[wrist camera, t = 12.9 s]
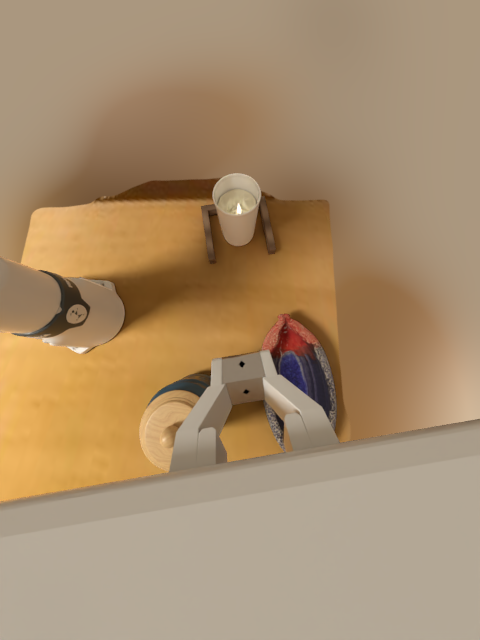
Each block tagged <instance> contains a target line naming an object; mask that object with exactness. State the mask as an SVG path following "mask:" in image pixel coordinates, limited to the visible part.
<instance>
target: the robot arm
mask: <svg viewBox="0 0 480 640" xmlns="http://www.w3.org/2000/svg"><path fill="white" fill-rule="evenodd" d="M124 317H125V310H124V305H123V303H122V301H121V299H120V298H119V296H118V295H117V293H116V290H115V286H114V284H113V283H112V282H110V281H103V280H89V279H85V278H82V277H80V278H64V277H62V276H60V275H57V274H55V273H51V272H47V271H43V270H36V269H33V268H31V267H28V266H25V265H23V264H20V263H17V262H15V261H12V260H10V259H7V258H4V257H2V256H0V332H3V333H12V334H14V335H17V336H24V337H30V338H36V339H43V341H42V342H44V343H50V345H53V346H66V347H68V348H69V349H71V350H73V351H75V352H76V353H79V354H84V353H87V352H88V351H89V350H91V349H92V348H93V347H95V346H97V345H101V344H103V343H106V342H108V341H109V340H111V339H112V338H113V337H114V336H115V335H116V334H117V333H118V332H119V330H120V329H121V327H122V324H123V322H124ZM260 400H265V401H266V402H267V403H268V404H269V405H270V407H271V408H272V409H273V410H274V411H275V412H276V413H277V415H278V416H279V417H280V418H281V419H282V420H283V421H284V446H285V450H286V452H284V453H279V454H273V455H267V456H261V457H255V458H250V459H244V460H238V461H232V462H227V452H226V450H225V448H224V446H223V444H222V442H221V440H220V438H219V435H220V433H221V431H222V429H223V426H224V424H225V422H226V420H227V417H228V415H229V413H230V411H231V408H232V405H237V404H241V403H246V402H253V401H260ZM0 640H480V419H477V420H471V421H465V422H459V423H453V424H447V425H442V426H436V427H430V428H424V429H418V430H412V431H407V432H401V433H395V434H389V435H384V436H378V437H372V438H366V439H361V440H354V441H348V442H343V443H340V442H339V440H338V438H337V436H336V434H335V432H334V430H333V428H332V426H331V424H330V422H329V420H328V418H327V416H326V414H325V412H324V410H323V408H322V407H321V406H320V405H319V404H317V403H316V402H315V401H314V400H312V399H311V398H310V397H309V396H307V395H306V394H305V393H303V392H302V391H301V390H300V389H298V388H297V387H296V386H295V385H293V384H292V383H291V382H289V381H288V380H287V379H286V378H284V377H283V376H282V375H281V374H280V375H277V372H276V369H275V366H274V363H273V360H272V357H271V354H270V351H269V350H263V351H257V352H251V353H246V354H241V355H235V356H228V357H222V358H216V359H212V366H211V386H210V387H207V389H206V390H205V392H204V393H203V394H202V396H201V397H200V399H199V400H198V402H197V403H196V405H195V406H194V407H193V409H192V410H191V412H190V413H189V415H188V416H187V418H186V419H185V420H184V422H183V423H182V425H181V426H180V428H179V429H178V431H177V432H176V437H175V442H174V448H173V453H172V458H171V464H170V469H169V472H168V473H162V474H157V475H151V476H145V477H139V478H133V479H128V480H122V481H116V482H110V483H104V484H99V485H93V486H87V487H81V488H75V489H70V490H64V491H58V492H52V493H46V494H41V495H35V496H29V497H23V498H17V499H12V500H6V501H0Z"/></svg>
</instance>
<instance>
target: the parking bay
mask: <svg viewBox="0 0 480 640" xmlns="http://www.w3.org/2000/svg"><path fill="white" fill-rule="evenodd" d="M259 208H260V213H261V218H262V223H263V228H264V233H265V238H266V243H267V248H268V253H269V254H275V251H276V247H275V243H274V238H273V233H272V228H271V224H270V219H269V214H268V210H267V205H266V200H265V196H262V197H261V199H260V203H259ZM201 209H202V216H203V223H204V230H205V237H206V244H207V251H208V258H209V262H210V264H212V263H216V260H215V253H214V246H213V239H212V233H211V226H210V219H209V216H212V215H217V211H216V207H215V204H212V205H205V206H201Z"/></svg>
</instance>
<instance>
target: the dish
mask: <svg viewBox="0 0 480 640" xmlns="http://www.w3.org/2000/svg"><path fill="white" fill-rule="evenodd" d="M278 318H279V320H278V321H277V322H276V324H275V325H274V326H273V327H272V328H271V329H270V331H269V332H268V334H267V336H266V338H265V340H264V343H263V345H262V349H261V351H263V350H269V351H270V354H271V357H272V360H273V363H274V366H275V369H276V372H277V375H280V374H281V375H282V376H283V377H284V378H286V379H287V380H288V381H289V382H291V383H292V384H293V385H295V386H296V387H297V388H298V389H300V390H301V391H302V392H303V393H305V394H306V395H307V396H309V397H310V398H311V399H312V400H314V401H315V402H316V403H317V404H319V405H320V406H321V407H322V408H323V410H324V412H325V414H326V416H327V418H328V420H329V422H330V424H331V426H332V428H333V430H334V431H335V426H336V416H337V403H336V392H335V385H334V380H333V375H332V372H331V368H330V365H329V362H328V359H327V356H326V354H325V352H324V349H323V347H322V346H321V344H320V342H319V341H318V339H317V338H316V337H315V336H314V334H313V333H312V332H310V331H309V330H308V329H307V328H305V327H304V326H303V325H302V324H301V323H300V322H298V321H296V320H294V319H291V318H290V315H289V314H280V315H279V316H278ZM263 403H264V407H265V411H266V414H267V418H268V421H269V424H270V426H271V429H272V432H273V434H274V436H275V438H276V440H277V442H278V443H279V445H280V446H281V448H282V449H283V450H284V452H286V450H285V446H284V421H283V420H282V419H281V418H280V417H279V416H278V415H277V413H276V412H275V411H274V410H273V409H272V408H271V407H270V405H269V404H268V403H267V402H266V401H265V400H263Z"/></svg>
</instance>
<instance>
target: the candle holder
mask: <svg viewBox="0 0 480 640" xmlns="http://www.w3.org/2000/svg"><path fill="white" fill-rule="evenodd" d="M260 199H261V190H260V187H259V185H258V183H257V182H256V181H255V180H254V179H253V178H251V177H250V176H248V175H245V174H240V173H234V174H229V175H227V176H225V177H223V178H221V179H220V180H219V181H218V182H217V183H216V185H215V187H214V189H213V201H214V204H215V207H216V211H217V215H218V218H219V222H220V226H221V229H222V233H223V236H224V238H225V240H226V241H227V242H228V243H229V244H231V245H233V246H243V245H246V244H247V243H249V242H250V241H251V239H252V238H253V235H254V231H255V225H256V220H257V214H258V208H259V203H260Z"/></svg>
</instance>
